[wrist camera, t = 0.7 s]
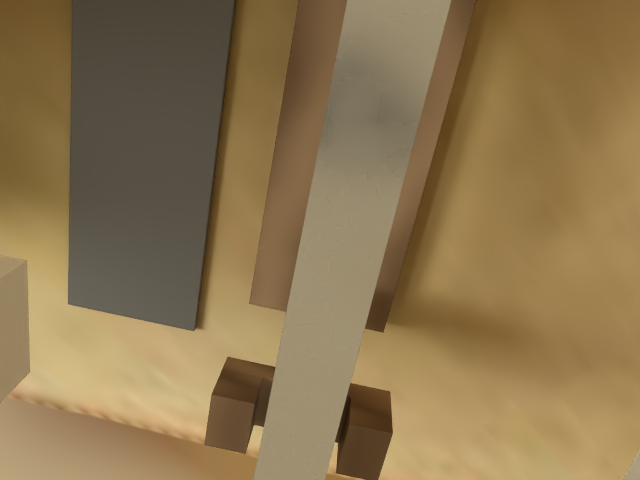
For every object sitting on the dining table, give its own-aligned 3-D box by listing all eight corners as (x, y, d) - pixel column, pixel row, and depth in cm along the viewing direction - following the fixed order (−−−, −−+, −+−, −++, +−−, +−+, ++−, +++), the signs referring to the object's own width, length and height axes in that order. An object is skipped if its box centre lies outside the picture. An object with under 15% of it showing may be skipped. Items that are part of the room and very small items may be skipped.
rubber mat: (71, 301, 42) (68, 304, 42) (80, -239, 29) (75, -243, 29) (195, 327, 42) (194, 331, 42) (260, -201, 29) (258, -205, 29)
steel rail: (262, 449, 28) (246, 514, 24) (393, -209, 17) (400, -272, 14) (319, 462, 28) (311, 528, 24) (484, -190, 17) (517, -248, 14)
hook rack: (253, 294, 41) (186, 449, 26) (318, -101, 31) (272, -219, 16) (383, 322, 40) (391, 493, 26) (490, -65, 31) (604, -149, 16)
